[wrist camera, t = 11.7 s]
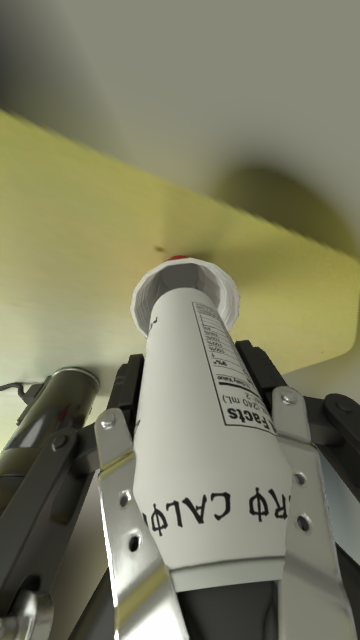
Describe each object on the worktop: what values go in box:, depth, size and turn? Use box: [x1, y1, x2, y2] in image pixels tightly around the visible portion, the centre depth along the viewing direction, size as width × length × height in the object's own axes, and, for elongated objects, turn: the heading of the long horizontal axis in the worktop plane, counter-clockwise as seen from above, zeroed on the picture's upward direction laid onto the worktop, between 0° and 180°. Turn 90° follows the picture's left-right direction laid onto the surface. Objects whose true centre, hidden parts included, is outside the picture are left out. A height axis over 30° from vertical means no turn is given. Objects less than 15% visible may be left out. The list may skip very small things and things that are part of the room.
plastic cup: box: [130, 256, 240, 340], centre depth 23 cm, size 11×11×12 cm
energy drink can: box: [125, 288, 302, 592], centre depth 11 cm, size 6×6×15 cm
